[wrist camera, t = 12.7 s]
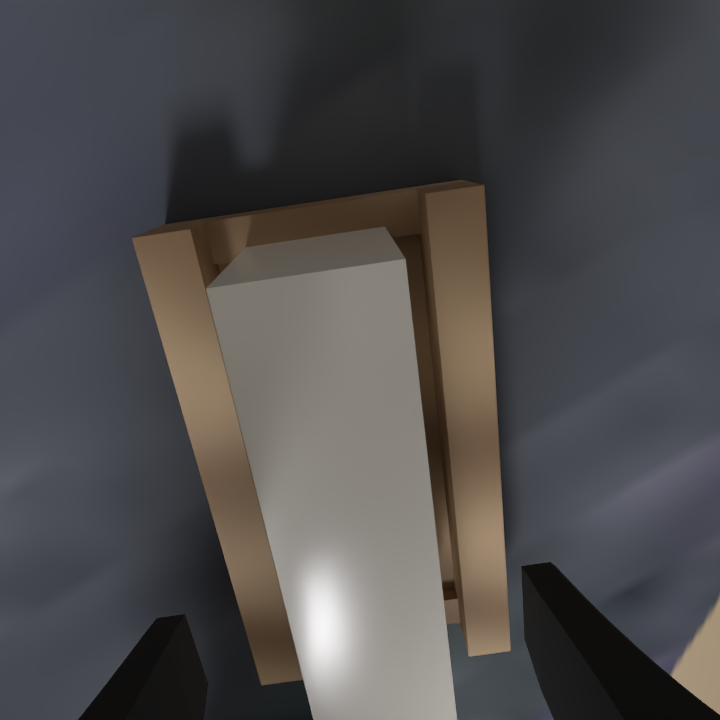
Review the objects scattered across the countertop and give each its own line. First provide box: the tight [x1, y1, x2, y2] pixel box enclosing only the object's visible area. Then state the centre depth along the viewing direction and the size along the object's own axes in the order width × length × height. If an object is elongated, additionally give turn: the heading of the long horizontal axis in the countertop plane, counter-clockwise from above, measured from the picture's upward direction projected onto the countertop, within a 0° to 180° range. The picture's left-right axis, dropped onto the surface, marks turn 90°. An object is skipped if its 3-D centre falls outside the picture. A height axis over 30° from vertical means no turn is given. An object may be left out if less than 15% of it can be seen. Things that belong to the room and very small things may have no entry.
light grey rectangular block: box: [206, 227, 457, 720], centre depth 16 cm, size 14×4×5 cm, turn 8°
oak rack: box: [132, 180, 511, 685], centre depth 18 cm, size 16×9×3 cm, turn 8°
